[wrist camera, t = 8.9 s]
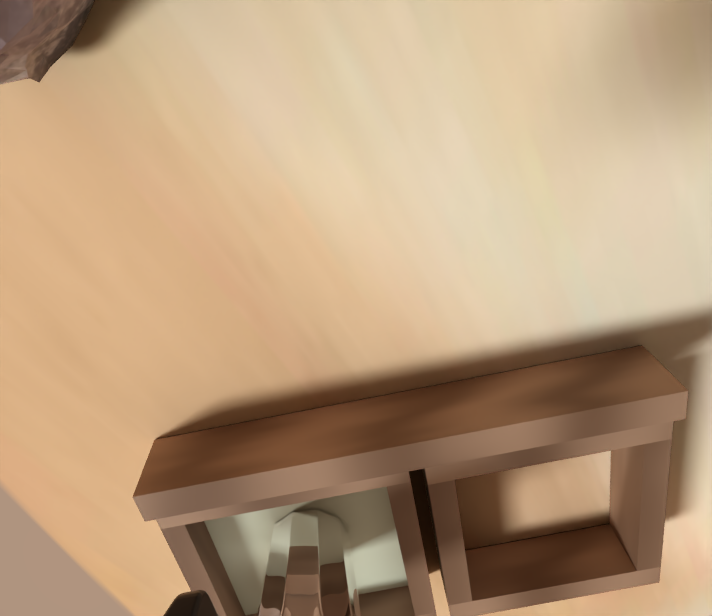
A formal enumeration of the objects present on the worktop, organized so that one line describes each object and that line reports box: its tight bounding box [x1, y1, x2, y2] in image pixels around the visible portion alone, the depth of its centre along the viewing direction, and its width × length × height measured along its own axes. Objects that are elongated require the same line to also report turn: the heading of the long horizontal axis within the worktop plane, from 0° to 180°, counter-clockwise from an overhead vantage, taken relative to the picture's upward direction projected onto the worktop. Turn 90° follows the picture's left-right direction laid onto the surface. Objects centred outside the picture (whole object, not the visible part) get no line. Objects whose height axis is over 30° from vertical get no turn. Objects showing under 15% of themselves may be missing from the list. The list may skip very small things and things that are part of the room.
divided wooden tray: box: [133, 345, 688, 616], centre depth 23 cm, size 19×11×3 cm, turn 101°
